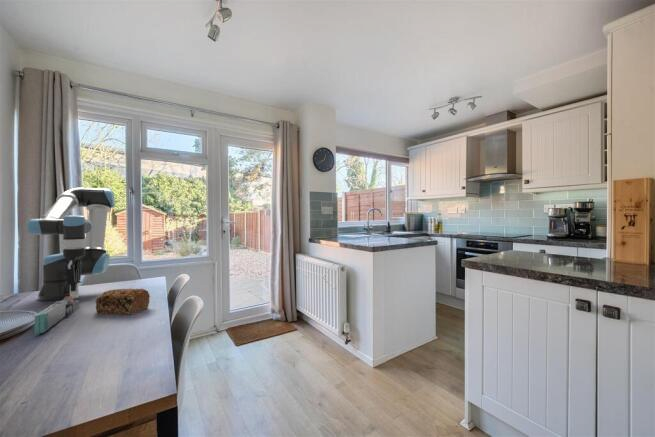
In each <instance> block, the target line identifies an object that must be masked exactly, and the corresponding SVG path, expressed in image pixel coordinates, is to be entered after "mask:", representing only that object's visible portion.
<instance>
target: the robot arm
mask: <svg viewBox="0 0 655 437" xmlns="http://www.w3.org/2000/svg"><path fill="white" fill-rule="evenodd" d="M115 202H116V201H115V195H114V191H113V190H112V189H110V188H95V187H75V188H70V189H68V190H65V191H63V192H62V193H60V194H59V195H58V196H57V197H56V198H55V202H54V203H53V205H52V206H51V207H50V208H49V209H48V210H47V211H46V212H45V213H44V214H43V216H41V217H40V218H31V219H29V220H28V221H27V224H26V229H27V232H28V233H29V234H30V235H35V236H36V235H40V236H43V235H44V236H45V235H46V236H49V235H63V236H62V237H63V238H62V239H63V240H62V241H61V244H62V245H63V246H62V247H63V248H64V249H62V252H61V253H55V254H51V255H47V256H45V257H44V258H43V260H42V285H41V287H40V290H39V292H38V295H37V300H38V301H41V302H42V301H43V302H44V301H58V300H61V299H62V300H63V299H64V297H69V296H73V297H74V299H77V298H79V297H80V296H79V295H80V293H79V288H80V286H79V285H80V284H79V283H82V281H81V276H92V275H93V276H95V275H101V274H104V273H106V271H107V270H108V267H109V264H110V259H111V258H110V254H109V253H108V252H107V250H106V249H105V248H104V247H105V246H104V245H105V239H106V238H105V237H106V229H107V228H106V227H107V221H108V213H109V212H111V211H112V209H113V208H115V206H116V203H115ZM79 207H83V208H84V207H85V209H86V210H87V211H88V216H87V217H88V218H87V219H86V217H85V216H84V215H69V214H70V213H71V212H72V211H73V210H74V209H76V208H79Z"/></svg>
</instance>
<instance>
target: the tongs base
mask: <svg viewBox="0 0 655 437" xmlns="http://www.w3.org/2000/svg"><path fill="white" fill-rule="evenodd" d="M61 301H62V300H56V301H55V302H54V303H53V304H51V305H49V306H48V307H46V308H44V309H43V310H41V311H40V312H38V313H37V314H36V315H34V337H35V336H36V337H37V336H40V335H42V334H43V333H40V315H41V314H42V313H44V312H45V311H47V310H48V309H50V308H52V307H53V306H55V305H56V304H58V303H59V302H61ZM79 308H80V300H79V299H76V300H74V302H72V303H71V306H69V307H66V316H65V317H63V318H62V319H68V318H69V317H71V316H72V315H73V314H74V313H75V312H76V311H78V310H79Z"/></svg>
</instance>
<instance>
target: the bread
mask: <svg viewBox="0 0 655 437" xmlns="http://www.w3.org/2000/svg"><path fill="white" fill-rule="evenodd" d="M149 303H150V292H149V291H148V290H146V289H143V288H117V289H111V290H107V291H104V292H102V293H101V294H100V295H99V296H98V297H97V298H96V299H95V310H96V313H98V314H107V315H108V314H109V315H111V314H112V315H134V314H137V313H141V312H143V311H145V310H147V309H148V307H149Z"/></svg>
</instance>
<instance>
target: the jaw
mask: <svg viewBox="0 0 655 437" xmlns="http://www.w3.org/2000/svg"><path fill="white" fill-rule="evenodd" d="M60 301H61V302H59V303H58V304H56V305H55V306H53V307H52V308H50V309H48V310H47V311H45V312H44V313H42V314H41V315H40V333H42V334H43V333H46V332H47V331H48V330H49V329H50V328H52V327H53V326H54V325H56V324H57V323H58V322H59V321H61V320H62V319H64V318H63V317H65V316H66V307H69V306H71V298H63V299H62V300H60Z"/></svg>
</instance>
